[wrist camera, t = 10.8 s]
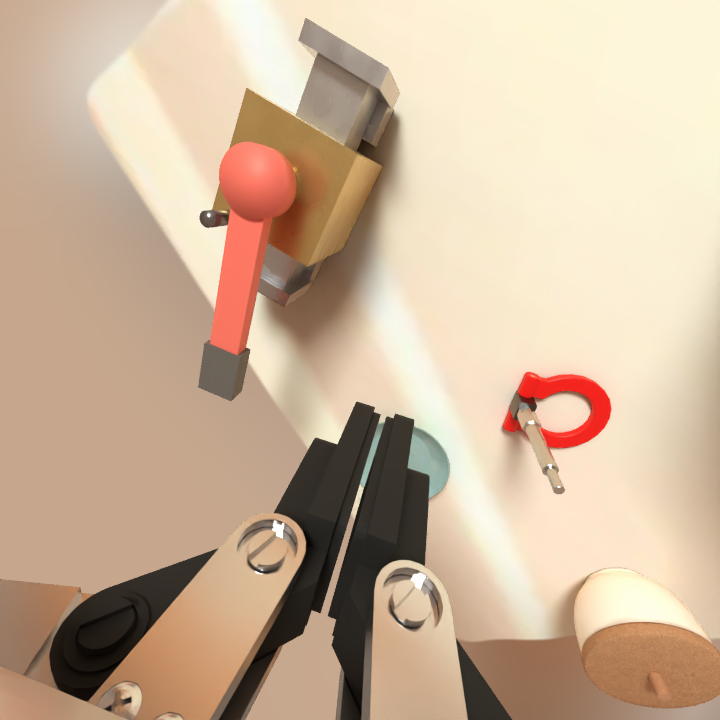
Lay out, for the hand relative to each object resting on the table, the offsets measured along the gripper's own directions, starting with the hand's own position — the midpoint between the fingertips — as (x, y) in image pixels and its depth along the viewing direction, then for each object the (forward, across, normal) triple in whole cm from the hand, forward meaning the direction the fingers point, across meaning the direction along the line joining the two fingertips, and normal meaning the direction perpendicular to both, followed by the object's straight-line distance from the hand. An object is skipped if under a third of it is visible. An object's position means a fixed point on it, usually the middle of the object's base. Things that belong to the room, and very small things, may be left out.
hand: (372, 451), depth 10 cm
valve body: (+27, +11, -5) cm, 30 cm away
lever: (+15, +12, +2) cm, 19 cm away
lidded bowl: (+27, -34, +31) cm, 54 cm away
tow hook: (+27, -17, +10) cm, 34 cm away
